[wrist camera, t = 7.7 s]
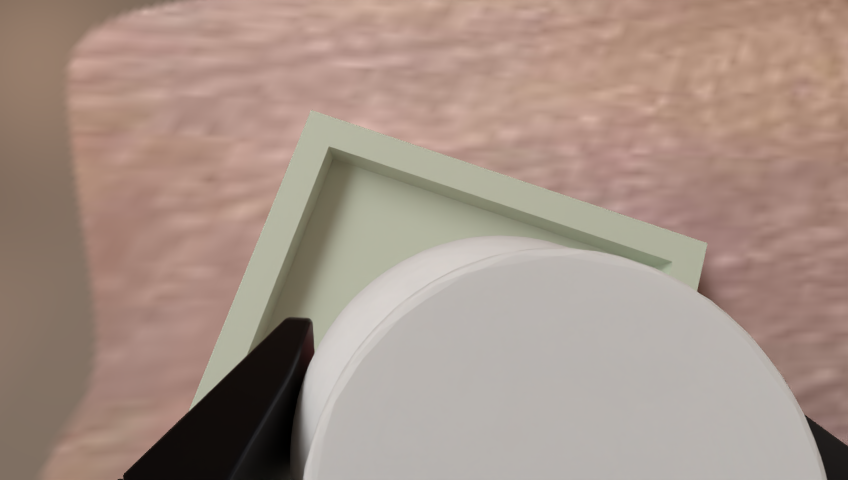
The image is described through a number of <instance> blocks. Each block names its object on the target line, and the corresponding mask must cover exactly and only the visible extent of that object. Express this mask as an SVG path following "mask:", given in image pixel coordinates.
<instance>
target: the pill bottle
mask: <svg viewBox="0 0 848 480" xmlns="http://www.w3.org/2000/svg"><path fill="white" fill-rule="evenodd" d="M290 477H291V480H827V477H826V473H825V469H824V465H823V462H822V459H821V456H820V453H819V450H818V447H817V444H816V442H815V439H814V437H813V434H812V432H811V429H810V427H809V425H808V422H807V420H806V417H805V415H804V414H803V412H802V410H801V408H800V406H799V404H798V402H797V400H796V398H795V396H794V395H793V393H792V391H791V390H790V388H789V386H788V385H787V383H786V381H785V380H784V378H783V377H782V375H781V374H780V372H779V371H778V370H777V368H776V367H775V366H774V364H773V363H772V362H771V360H770V359H769V358H768V357H767V355H766V354H765V353H764V352H763V350H762V349H761V348H760V347H759V345H758V344H757V343H756V342H755V340H754V339H753V338H752V337H751V336H750V335H749V334H748V333H747V332H746V331H745V330H744V329H743V328H742V327H741V326H740V325H739V324H738V323H737V322H736V321H735V320H733V319H732V318H731V317H730V316H729V315H728V314H727V313H726V312H724V311H723V310H722V309H721V308H720V307H718V306H717V305H716V304H715V303H714V302H712V301H711V300H710V299H708V298H706V297H705V296H703V295H702V294H700V293H698V292H697V291H695V290H694V289H692V288H691V287H690V286H689V285H687V284H685V283H683V282H681V281H680V280H678V279H676V278H674V277H672V276H670V275H668V274H666V273H664V272H662V271H660V270H657V269H655V268H653V267H650V266H647V265H644V264H641V263H638V262H635V261H632V260H629V259H626V258H623V257H620V256H616V255H612V254H608V253H603V252H598V251H590V250H582V249H574V248H569V247H566V246H562V245H559V244H556V243H552V242H549V241H545V240H540V239H534V238H529V237H518V236H502V235H498V236H479V237H470V238H465V239H459V240H455V241H451V242H448V243H444V244H440V245H437V246H435V247H432V248H429V249H426V250H424V251H422V252H419V253H417V254H415V255H413V256H411V257H409V258H407V259H405V260H403V261H401V262H400V263H398V264H396V265H395V266H393V267H392V268H390V269H388V270H387V271H385V272H384V273H383V274H381V275H380V276H379V277H377V278H376V279H374V280H373V281H372V282H371V283H369V284H368V285H367V286H366V287H365V288H364V289H363V290H362V291H361V292H359V293H358V294H357V295H356V296H355V297H354V298H353V299H352V300H351V301H350V302H349V303H348V305H347V306H346V307H345V308H344V309H343V310H342V311H341V312H340V314H339V315H338V317H337V318H336V319H335V321H334V322H333V323H332V325H331V326H330V327H329V329H328V330H327V332H326V334H325V335H324V337H323V339H322V341H321V342H320V344H319V346H318V348H317V350H316V352H315V354H314V356H313V358H312V360H311V362H310V364H309V366H308V369H307V371H306V374H305V376H304V379H303V382H302V385H301V388H300V391H299V395H298V399H297V404H296V409H295V414H294V419H293V425H292V433H291V445H290Z"/></svg>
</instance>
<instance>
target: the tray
mask: <svg viewBox="0 0 848 480" xmlns="http://www.w3.org/2000/svg"><path fill="white" fill-rule="evenodd" d="M498 235H502V236H518V237H529V238H534V239H540V240H545V241H549V242H552V243H556V244H559V245H562V246H566V247H569V248H574V249H582V250H590V251H598V252H603V253H608V254H612V255H616V256H620V257H623V258H626V259H629V260H632V261H635V262H638V263H641V264H644V265H647V266H650V267H653V268H655V269H657V270H660V271H662V272H664V273H666V274H668V275H670V276H672V277H674V278H676V279H678V280H680V281H681V282H683V283H685V284H687V285H689V286H690V287H691V288H692V289H694V290H695V291H697V289H698V284H699V280H700V275H701V271H702V266H703V261H704V257H705V252H706V248H707V243H705V242H702V241H699V240H696V239H693V238H690V237H687V236H684V235H681V234H678V233H676V232H673V231H670V230H667V229H664V228H661V227H658V226H655V225H652V224H649V223H646V222H643V221H640V220H637V219H634V218H631V217H628V216H625V215H622V214H619V213H616V212H613V211H610V210H607V209H604V208H601V207H598V206H595V205H592V204H589V203H586V202H583V201H580V200H577V199H574V198H571V197H568V196H565V195H562V194H559V193H556V192H553V191H550V190H547V189H544V188H542V187H539V186H536V185H533V184H530V183H527V182H524V181H521V180H518V179H515V178H512V177H509V176H506V175H503V174H500V173H497V172H494V171H491V170H488V169H485V168H482V167H479V166H476V165H473V164H470V163H467V162H464V161H461V160H458V159H455V158H452V157H449V156H446V155H443V154H440V153H437V152H434V151H431V150H428V149H425V148H422V147H419V146H416V145H413V144H410V143H407V142H405V141H402V140H399V139H396V138H393V137H390V136H387V135H384V134H381V133H378V132H375V131H372V130H369V129H366V128H363V127H360V126H357V125H354V124H351V123H348V122H345V121H342V120H339V119H336V118H333V117H330V116H327V115H324V114H321V113H318V112H315V111H312V110H311V112H310V114H309V117H308V119H307V122H306V124H305V127H304V129H303V131H302V134H301V136H300V139H299V141H298V144H297V146H296V149H295V151H294V154H293V156H292V159H291V161H290V163H289V166H288V168H287V171H286V173H285V176H284V178H283V181H282V183H281V186H280V188H279V190H278V193H277V195H276V198H275V200H274V203H273V205H272V208H271V210H270V213H269V215H268V217H267V220H266V222H265V225H264V227H263V230H262V232H261V235H260V237H259V240H258V242H257V244H256V247H255V249H254V252H253V254H252V257H251V259H250V262H249V264H248V267H247V269H246V272H245V274H244V276H243V279H242V281H241V284H240V286H239V289H238V291H237V294H236V296H235V299H234V301H233V303H232V306H231V308H230V311H229V313H228V316H227V318H226V321H225V323H224V326H223V328H222V330H221V333H220V335H219V338H218V340H217V343H216V345H215V348H214V350H213V353H212V355H211V357H210V360H209V362H208V365H207V367H206V370H205V372H204V375H203V377H202V380H201V382H200V385H199V387H198V389H197V392H196V394H195V397H194V399H193V402H192V404H191V407H190V409H189V411H190V410H191V409H192V408H193V407H194V406H195V405H196V404H197V403H198V402H199V401H200V400H201V399H202V398H203V397H204V396H205V395H206V394H207V393H208V392H209V391H211V390H212V389H213V388H214V387H215V386H216V385H217V384H218V383H219V382H220V381H221V380H222V379H223V378H224V377H225V376H226V375H227V374H228V373H229V372H230V371H231V370H232V369H233V368H234V367H235V366H236V365H237V364H239V363H240V362H241V361H242V360H243V359H244V358H245V357H246V356H247V355H248V354H249V353H250V352H251V351H252V350H253V349H254V348H255V347H256V346H257V345H258V344H259V343H260V342H261V341H262V340H263V339H264V338H266V337H267V336H268V335H269V334H270V333H271V332H272V331H273V330H274V329H275V328H276V327H277V326H278V325H279V324H280V323H281V322H282V321H283V320H284V319H286V318H288V317H303V318H310V319H311V320H312V322H313V333H314V350H315V352H316V350H317V348H318V346H319V344H320V342H321V341H322V339H323V337H324V335H325V334H326V332H327V330H328V329H329V327H330V326H331V325H332V323H333V322H334V321H335V319H336V318H337V317H338V315H339V314H340V312H341V311H342V310H343V309H344V308H345V307H346V306H347V305H348V303H349V302H350V301H351V300H352V299H353V298H354V297H355V296H356V295H357V294H358V293H359V292H361V291H362V290H363V289H364V288H365V287H366V286H367V285H368V284H369V283H371V282H372V281H373V280H374V279H376V278H377V277H379V276H380V275H381V274H383V273H384V272H385V271H387V270H388V269H390V268H392V267H393V266H395V265H396V264H398V263H400V262H401V261H403V260H405V259H407V258H409V257H411V256H413V255H415V254H417V253H419V252H422V251H424V250H426V249H429V248H432V247H435V246H437V245H440V244H444V243H448V242H451V241H455V240H459V239H465V238H470V237H479V236H498Z"/></svg>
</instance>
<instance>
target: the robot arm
mask: <svg viewBox="0 0 848 480" xmlns="http://www.w3.org/2000/svg"><path fill="white" fill-rule="evenodd" d="M314 354H315V350H314V333H313V322H312V320H311V319H310V318H303V317H288V318H286V319H284V320H283V321H282V322H281V323H280V324H279V325H278V326H277V327H276V328H275V329H274V330H273V331H272V332H271V333H270V334H269V335H268V336H267V337H266V338H264V339H263V340H262V341H261V342H260V343H259V344H258V345H257V346H256V347H255V348H254V349H253V350H252V351H251V352H250V353H249V354H248V355H247V356H246V357H245V358H244V359H243V360H242V361H241V362H240V363H239V364H237V365H236V366H235V367H234V368H233V369H232V370H231V371H230V372H229V373H228V374H227V375H226V376H225V377H224V378H223V379H222V380H221V381H220V382H219V383H218V384H217V385H216V386H215V387H214V388H213V389H212V390H211V391H209V392H208V393H207V394H206V395H205V396H204V397H203V398H202V399H201V400H200V401H199V402H198V403H197V404H196V405H195V406H194V407H193V408H192V409H191V410H190V411H189V412H188V413H187V414H186V415H185V416H184V417H182V418H181V419H180V420H179V421H178V422H177V423H176V424H175V425H174V426H173V427H172V428H171V429H170V430H169V431H168V432H167V433H166V434H165V435H164V436H163V437H162V438H161V439H160V440H159V441H158V442H157V443H155V444H154V445H153V446H152V447H151V448H150V449H149V450H148V451H147V452H146V453H145V454H144V455H143V456H142V457H141V458H140V459H139V460H138V461H137V462H136V463H135V464H134V465H133V466H132V467H131V468H130V469H129V470H127V471H126V472H125V473H124V475H123V479H124V480H291V477H290V445H291V433H292V425H293V419H294V414H295V409H296V404H297V399H298V395H299V391H300V388H301V385H302V382H303V379H304V376H305V374H306V371H307V369H308V366H309V364H310V362H311V360H312V358H313V356H314ZM805 417H806V420H807V422H808V425H809V427H810V429H811V432H812V434H813V437H814V439H815V442H816V444H817V447H818V450H819V453H820V456H821V459H822V462H823V465H824V469H825V473H826V477H827V480H848V446H847V445H845V444H844V443H843V442H841V441H840V440H839V439H837V438H836V437H834V436H833V435H832V434H830V433H829V432H828V431H826V430H825V429H823V428H822V427H821V426H819V425H818V424H817V423H815V422H814V421H813V420H811V419H810V418H808V417H807V416H806V415H805ZM123 479H118V480H123Z"/></svg>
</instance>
